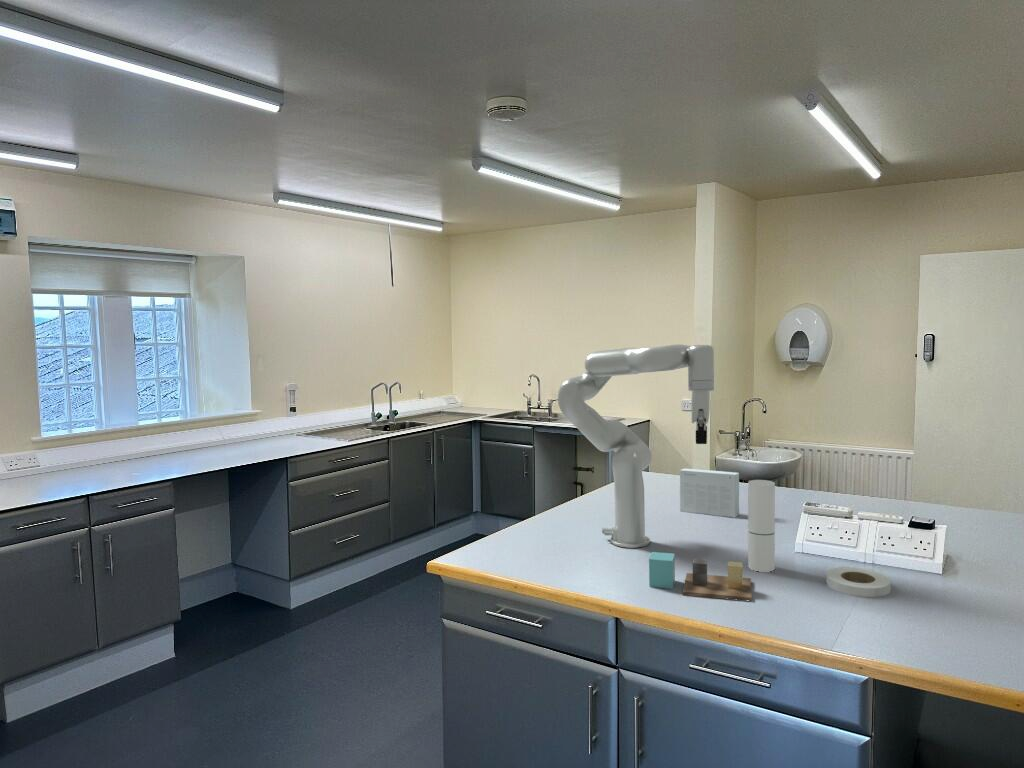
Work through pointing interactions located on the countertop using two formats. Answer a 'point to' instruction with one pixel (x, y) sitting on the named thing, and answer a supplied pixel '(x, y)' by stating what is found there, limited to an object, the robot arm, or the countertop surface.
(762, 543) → the cylindrical container
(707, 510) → the skincare box
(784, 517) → the countertop surface
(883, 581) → the roll of tape
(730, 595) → the walnut board
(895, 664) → the countertop surface
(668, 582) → the aqua foam cube
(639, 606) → the countertop surface
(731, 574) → the wooden post
